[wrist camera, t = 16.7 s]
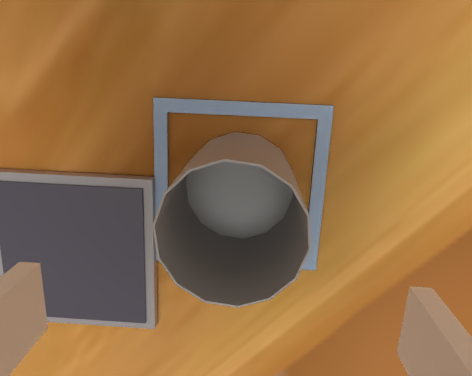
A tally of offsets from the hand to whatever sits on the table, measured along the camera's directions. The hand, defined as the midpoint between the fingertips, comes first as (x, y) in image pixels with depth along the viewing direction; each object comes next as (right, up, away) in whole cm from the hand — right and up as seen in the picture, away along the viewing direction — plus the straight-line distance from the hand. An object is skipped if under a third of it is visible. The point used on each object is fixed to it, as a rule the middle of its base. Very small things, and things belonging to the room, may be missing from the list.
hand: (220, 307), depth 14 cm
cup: (+1, +4, +16) cm, 17 cm away
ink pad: (-12, -1, +18) cm, 22 cm away
